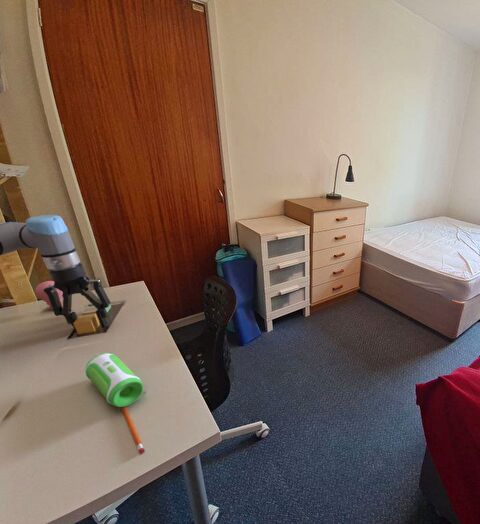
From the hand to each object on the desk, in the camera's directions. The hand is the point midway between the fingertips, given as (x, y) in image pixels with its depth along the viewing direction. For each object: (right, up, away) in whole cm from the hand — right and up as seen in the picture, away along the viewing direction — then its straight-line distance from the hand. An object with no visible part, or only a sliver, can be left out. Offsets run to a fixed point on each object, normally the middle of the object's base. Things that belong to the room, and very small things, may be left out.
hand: (92, 327), depth 95 cm
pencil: (+37, -16, -30) cm, 50 cm away
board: (-3, +1, +5) cm, 6 cm away
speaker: (+26, -11, -21) cm, 35 cm away
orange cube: (-1, 0, 0) cm, 1 cm away
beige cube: (-3, +2, +5) cm, 6 cm away
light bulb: (-23, +4, +11) cm, 26 cm away
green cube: (-6, +4, +10) cm, 12 cm away
